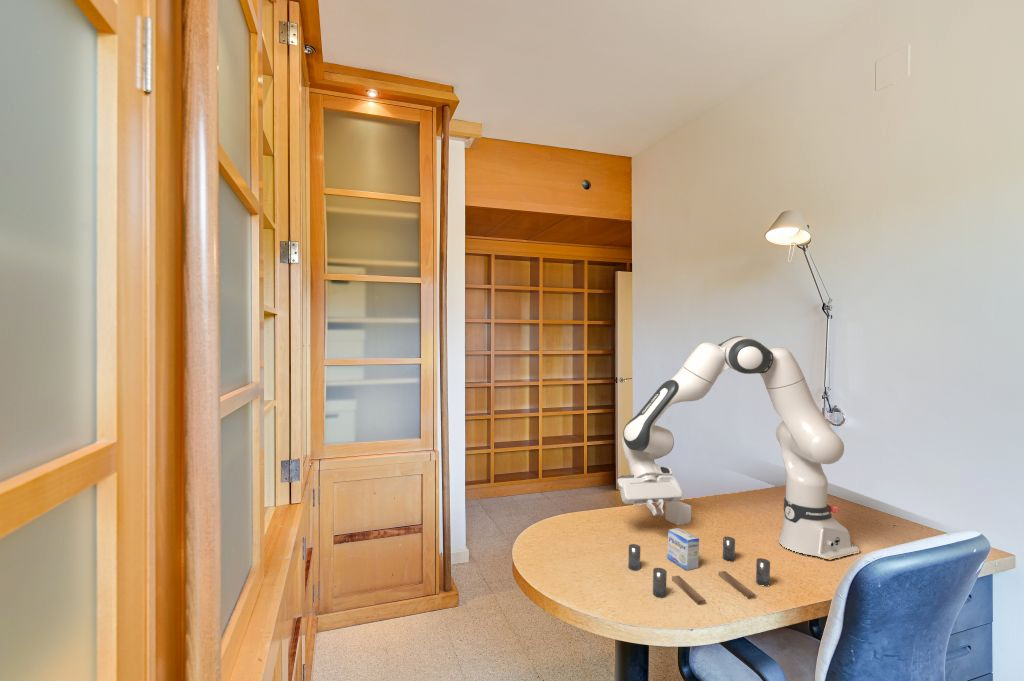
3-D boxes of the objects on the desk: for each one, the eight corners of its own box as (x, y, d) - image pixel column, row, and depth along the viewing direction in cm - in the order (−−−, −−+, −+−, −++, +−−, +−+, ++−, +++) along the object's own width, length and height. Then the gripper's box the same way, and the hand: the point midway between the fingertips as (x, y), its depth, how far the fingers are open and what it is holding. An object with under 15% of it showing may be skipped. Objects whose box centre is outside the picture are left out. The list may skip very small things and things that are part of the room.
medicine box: (666, 559, 142) (667, 529, 142) (678, 556, 144) (679, 527, 143) (686, 571, 135) (687, 540, 134) (698, 568, 136) (699, 537, 136)
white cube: (677, 516, 175) (678, 500, 175) (690, 522, 170) (691, 505, 169) (665, 519, 172) (665, 502, 172) (678, 525, 167) (678, 508, 167)
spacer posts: (729, 556, 144) (730, 536, 144) (772, 586, 127) (773, 563, 127) (626, 565, 137) (626, 544, 137) (656, 598, 120) (657, 574, 120)
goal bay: (724, 574, 133) (725, 571, 133) (755, 598, 121) (755, 594, 121) (671, 579, 130) (672, 576, 130) (698, 604, 118) (698, 600, 118)
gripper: (618, 471, 157) (631, 512, 148) (676, 468, 162) (691, 508, 152) (612, 480, 162) (624, 520, 152) (668, 478, 166) (683, 517, 157)
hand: (658, 514), depth 152 cm, fingers closed
